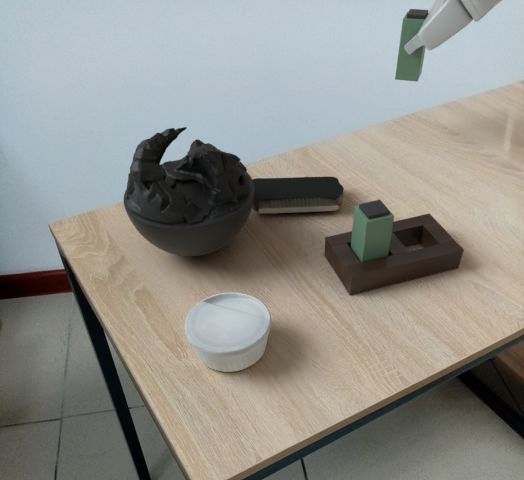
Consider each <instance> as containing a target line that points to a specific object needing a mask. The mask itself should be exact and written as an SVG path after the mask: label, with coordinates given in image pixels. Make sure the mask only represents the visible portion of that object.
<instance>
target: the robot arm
mask: <svg viewBox="0 0 524 480" xmlns="http://www.w3.org/2000/svg"><path fill="white" fill-rule="evenodd" d="M502 1H503V0H434V2H433V3H432V5H431V6H430V7H431V8H430V9H429V10H428V15H427V17H426V19H425V21H424V23H423V25H422V27H421V28H420V30H419V32H418V34H416V35H415V36H414V37H413V38H411V39H410V40H409V41H408V42H407V43H406V45H405V46H404V49H405V51H406V52H407V53H408V54H412V53H413V52H414V51H415V50H416V49H417V48H419V47H421V46H423V45H424V46H425V47H426V48H425V49H426V50H428V51H429V52H430V51H432V50H434V49H437V48H438V47H440V46H441V45H443V44H444V43H445V42H447V41H448V40H450V39H451V38H452V37H454V36H455V35H457V34H458V33H459V32H461V31H462V30H463V29H465V28H466V27H467V26H469V25H470V24H471V23H472V22H473V21H474V22H475V23H478V22H480V21H481V20H482V19H483V18H484V17H486V15H487V14H488V13H490V11H491V10H493V9H494V8H495V7H497V6H498V5H499V4H500V3H501V2H502Z"/></svg>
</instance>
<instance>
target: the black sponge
mask: <svg viewBox="0 0 524 480" xmlns="http://www.w3.org/2000/svg"><path fill="white" fill-rule="evenodd" d="M252 180H253V183H254V201H253V206H252V209H253V211H254V212H255V213H257V214H261V215H263V214H275V215H276V214H289V213H291V214H292V213H314V212H315V213H317V212H333V211H334V212H335V211H338V210H339V209H340V208H341V207H342V204H343V197H344V191H345V188H344V186H343V185H342V184H341V183H340V181H339V180H340V179H338V178H337V177H335V176H301V177H300V176H299V177H296V176H295V177H265V178H264V177H257V178H252Z"/></svg>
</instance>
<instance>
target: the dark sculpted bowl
mask: <svg viewBox="0 0 524 480" xmlns="http://www.w3.org/2000/svg"><path fill="white" fill-rule="evenodd" d="M185 130H187V126H184V127H179V128H176V129H175V127H169V128H166V129H165V130H163V131H162V132H156V133H155V134H153V135H152V136H151V137H149V138H146V139H143V140H141V141H140V142H139V144H137V146H136V148H135V150H134V152H133V155H132V162H131V164H130V167H129V173H128V174H127V175H128V176H127V182H126V189H125V191H124V194H123V207H124V209H125V213H126V214H127V216H128V219H129V220H130V222H131V223H132V225H133V227H134V229H136V230H137V232H138V233H139V234H140V235H141V236H142V237H143V238H144V239H145V240H146V241H147V242H149V243H150V244H151V245H153V246H155V248H158V249H160V250H161V251H163V252H166V253H168V254H172V255H176V256H181V257H199V256H200V257H201V256H205V255H209V254H211V253H214V252H216V251H219V250H221V249H223V248H224V247H226V246H227V245H228V244H230V243H231V242H232V241H233V240H235V238H237V236H238V235H239V234H240V233H241V232H242V230H243V229H244V227H245V225H246V224H247V222H248V220H249V217H250V214H251V212H252V209H253V208H252V206H253V201H254V183H253V180H252V179H253V178H252V176H251V175H250V174H249V172H248V171H247V170H248V168H247V167H246V166H245V165H244V163H242V161H241V158H240V157H239V156H237V155H236V154H233V153H230V152H226V151H222V150H221V149H219V148H218V147H216V146H215V145H213V144H212V143H210V142H207V143H204V141H202V140H200V139H198V138H197V139H195V140H192V142H191V144H190V147H189V150H188V151H187V153H186V155H184V156H183V157H182V158H180V159H176V160H168V161H164V162H163V163H161V161H162V159H163V157H164V155H165V153H166V151H167V149H168V148H169V146H171V144H172V143H173V142H174V141H176V139H178V137H179V136H180V135H181V133H183V132H184V131H185Z"/></svg>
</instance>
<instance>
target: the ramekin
mask: <svg viewBox="0 0 524 480" xmlns="http://www.w3.org/2000/svg"><path fill="white" fill-rule="evenodd" d="M271 327H272V316H271V312H270V310H269V307H268V306H266V304H265V303H264V302H262V300H260V299H259V298H257V297H255V296H253V295H250V294H246V293H244V292H243V293H242V292H233V291H232V292H231V291H229V292H228V291H227V292H222V293H217V294H213V295H210V296H207V297H205V298H203V299H201V300H200V301H198V302H197V303H196V304H194V306H193V307H192V308H191V309H190V310H189V311H188V313H187V315H186V317H185V320H184V332H185V336H186V340H187V341H188V343H189V345H191V347H192V349H193V351H194V353H195V355H196V357H197V358H198V361H200V362H201V363H202V364H203V365H204V366H206V367H208V368H210V369H211V370H214V371H217V372H224V373H226V372H227V373H232V372H239V371H243V370H245V369H247V368H249V367H251V366H253V365H255V364H256V363H257V362H258V361H259V360H260V359H261V358H262V356H264V353H265V351H266V348H267V344H268V340H269V339H268V338H269V334H270V331H271Z"/></svg>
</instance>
